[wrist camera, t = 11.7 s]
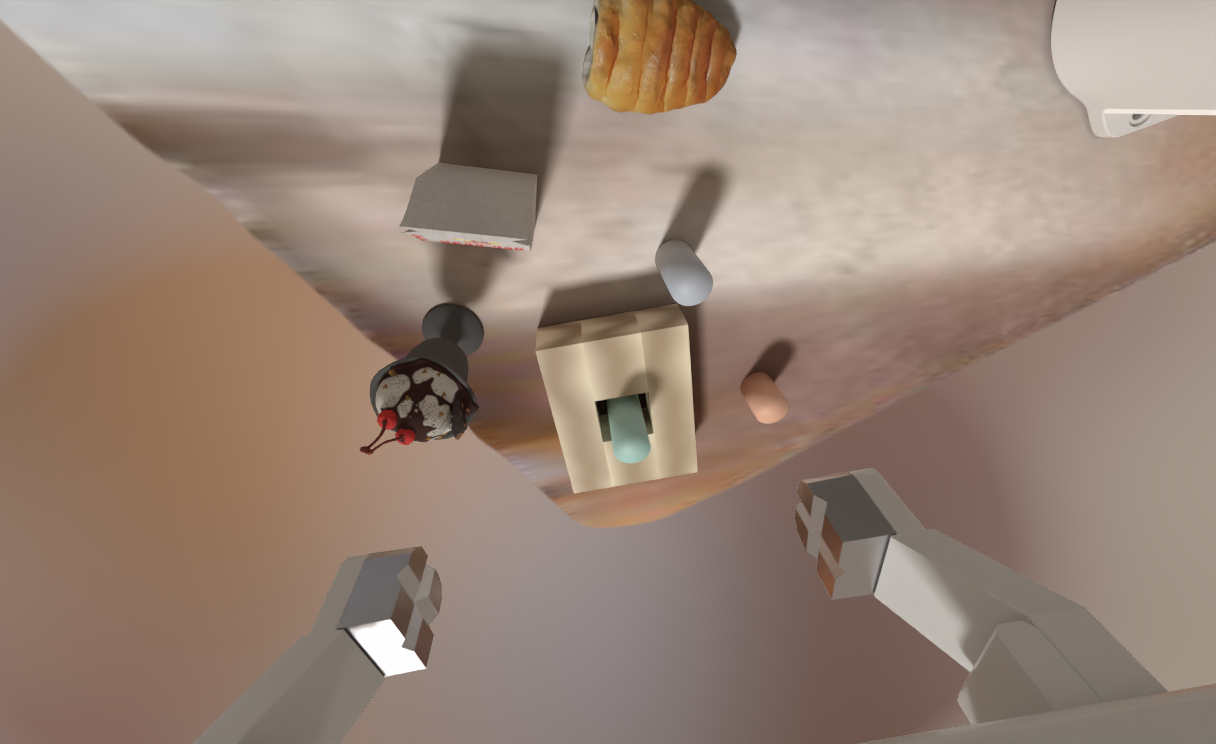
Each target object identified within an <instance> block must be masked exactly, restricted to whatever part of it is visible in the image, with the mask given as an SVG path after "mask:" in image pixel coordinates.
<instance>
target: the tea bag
mask: <svg viewBox="0 0 1216 744" xmlns="http://www.w3.org/2000/svg"><path fill="white" fill-rule="evenodd" d="M536 196H537V174H529V173H521V172H513V171H505V170H497V169H489V168H480V167H472V166H464V165H456V164H448V163H440V162H439V163H437V164H436V165H434V166H433V167H431V168H430V169H429V170H427V171H426V172H424V173H423V174H421V175H420V176H418V177H417V178H416V181H415V185H414V188H413V191H412V194H411V198H410V201H409V204H408V207H407V210H406V213H405V215H404V218H403V220H402V222H401V224H400V227H404V228H407V229H409V230H407V231H405V232H402V233H406V234H412V235H414V236H415V237H417V238H419V239H420V240H423V241H433V242H443V243H453V244H463V245H473V246H483V247H493V248H503V249H513V250H523V251H531V247H532V241H533V235H534V230H535V216H536Z"/></svg>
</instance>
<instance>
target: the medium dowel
mask: <svg viewBox="0 0 1216 744" xmlns="http://www.w3.org/2000/svg"><path fill="white" fill-rule="evenodd" d="M655 263H656V266H657V268H658V270H659V272H660V274H661V276H662V278H663V280H664V282H665V284H666V286H667V288H668V290H669V292H670V293H671V295H672V297H673V299H674V300H675V301H676V302H677V303H679V304H681V305H684V306H693V305H697V304H699V303H701V302H703V301H704V300H705V299H706V298H707V297H708V296H709V294H710V292H711V290H712V286H713V279H712V276H711V274H710V272H709V271H708V270H707V268H706V267H705V266H704V265H703V263H702V262H701V261H700V259H699V258H698V257H697V255H696V254H695V253H694V252H693V250H692V249H691V248H690V246H689V245H688V244H687V243H686V242H684V241H682V240H679V239H672V240H669V241H667V242H665V243H663V244H662V245H661V246H660V247H659V249H658V250H657V253H656V256H655Z"/></svg>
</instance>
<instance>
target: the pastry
mask: <svg viewBox="0 0 1216 744" xmlns="http://www.w3.org/2000/svg"><path fill="white" fill-rule="evenodd" d="M735 58H736V48H735V45H734V44H733V41H732V39H731V36H730V33H729V31H728V29H727V28H726V27H725V26H724V25H722V24H721V23H719V22H718V21H717V20H715V18H714V17H713V15H712V14H711V13H710V12H709V11H706V10H705V9H704V8H703V7H702V6H700V5H697V4H695V3H694V2H692V1H690V0H594V7H593V10H592V14H591V22H590V49H589V51H588V53H587V54H586V57H585V60H584V63H583V74H582V77H583V83H584V87H585V89H586V91H587V93H588V95H589V96H590V97H591V98H592V99H594V100H597V101H600V102H602V103H603V104H605V105H606V106H608V107H609V108H611V109H612V110H614V111H618V112H630V111H631V112H635V113H636V112H641V113H645V114H654V113H657V112H667V111H670V110H673V109H680V108H683V107H687V106H690V105H695V104H698V103H705V102H707V101H709V100H710V99H711V98H712V97H713V96H715V95H716V94H717V93H718V92H719V91H720V90H721V88H722V87H723V86H724V84H725V83H726V81H727V78H728V75H729V73H730V69H731V67H732V65H733V63H734V61H735Z"/></svg>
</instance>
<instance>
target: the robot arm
mask: <svg viewBox="0 0 1216 744" xmlns="http://www.w3.org/2000/svg"><path fill="white" fill-rule="evenodd" d="M1051 49H1052V58H1053V62H1054V66H1055V70H1056V72H1057V75H1058V77H1059V79H1060V81H1061V82H1062V84H1063V85H1064V87H1065V88H1066V89H1067V90H1068V91H1069V92H1070V93H1071V94H1072V95H1074V96H1075V97H1076V98H1077V99H1079V100H1080V101H1081V102H1082V103H1083V104H1084V105H1085V107H1086V108H1087V112H1088V117H1089V121H1090V125H1091V128H1092V130H1093V133H1094V134H1095V135H1096V136H1097V137H1101V138H1113V137H1119V136H1123V135H1125V134H1128V133H1131V132H1134V131H1136V130H1139V129H1142V128H1145V127H1147V126H1150V125H1153V124H1156V123H1158V122H1161V121H1164V120H1167V119H1169V118H1172V117H1175V116H1177V115H1216V0H1057V2H1056V6H1055V11H1054V16H1053V22H1052V32H1051ZM797 494H798V496H799V498H800V499H801V502H800V503H799V504H798V505H797V506H796V507H795V522H796V527H797V532H798V534H799V537H800V540H801V542H802V544H803V546H804V548H805V550H806V551H807V552H808V553H810V554H811V555H813V556H814V557H816V558H817V559H818V560H817V567H816V571H817V573H818V575H819V577H820V578H821V580H822V582H823V584H824V586H825V588H826V590H827V592H828V593H829V595H830V597H831V599H832V600H833V599H840V598H847V597H855V596H862V595H868V594H874V596H875V597H876V598H877V599H878V600H880V601H881V602H882V603H883V604H885V605H886V606H887V607H889V608H890V609H891V610H892V611H894V612H895V613H896V614H897V615H899V616H900V617H901V618H902V619H904V620H905V621H906V622H908V623H909V624H910V625H911V626H913V627H914V628H915V629H916V630H918V631H919V632H920V633H922V634H923V635H924V636H925V637H927V638H928V639H929V640H930V641H932V642H933V643H934V644H936V645H937V646H938V647H939V648H941V649H942V650H943V651H944V652H946V653H947V654H948V655H950V656H951V657H952V658H953V659H955V660H956V661H957V662H958V663H960V664H961V665H962V666H963V667H965V668H966V669H967V670H968V671H970V672H971V673H970V675H969V677H968V678H967V680H966V682H965V684H964V686H963V688H962V689H961V691H960V693H959V696H958V700H957V701H958V703H959V705H960V706H961V708H962V709H963V711H964V713H965V714H966V716H967V717H968V719H969V721H970V722H971V724H972V725H966V726H960V727H954V728H949V729H942V730H937V731H931V732H925V733H918V734H912V735H907V736H900V737H894V738H889V739H882V740H876V741H870V742H864V743H859V744H1216V684H1212V685H1206V686H1199V687H1194V688H1187V689H1181V690H1175V691H1169V692H1168V691H1167V690H1166V689H1165V688H1164V687H1163V686H1162V685H1161V684H1160V683H1159V682H1158V681H1157V680H1156V679H1155V678H1154V677H1153V676H1152V675H1151V674H1150V673H1149V672H1148V671H1147V670H1146V669H1145V668H1144V667H1143V666H1142V665H1141V664H1140V663H1139V662H1138V661H1137V660H1136V659H1135V658H1134V657H1133V656H1132V655H1131V654H1130V653H1129V652H1128V651H1127V650H1126V649H1125V648H1124V647H1123V646H1122V645H1121V644H1120V643H1119V642H1118V641H1117V639H1116V638H1114V637H1113V635H1111V634H1110V633H1109V632H1108V631H1107V629H1105V628H1104V626H1103V625H1102V624H1101V623H1100V622H1099V621H1098V620H1096V618H1095V617H1094V616H1093V615H1092V614H1091V613H1090V612H1089V611H1088V610H1087V609H1086V608H1084V607H1082V606H1080V605H1079V604H1077V603H1075V602H1073V601H1071V600H1069V599H1067V598H1065V597H1063V596H1061V595H1059V594H1057V593H1056V592H1054V591H1052V590H1050V589H1048V588H1046V587H1044V586H1042V585H1040V584H1038V583H1037V582H1035V581H1033V580H1031V579H1028V578H1027V577H1025V576H1023V575H1021V574H1019V573H1017V572H1015V571H1013V570H1012V569H1010V568H1008V567H1006V566H1004V565H1002V564H1000V563H998V562H996V561H994V560H992V559H990V558H989V557H987V556H985V555H983V554H981V553H979V552H977V551H975V550H973V549H971V548H969V547H967V546H966V545H963V544H962V543H960V542H958V541H956V540H954V539H952V538H950V537H948V536H946V535H944V534H943V533H941V532H939V531H937V530H935V529H929V530H926V529H925V528H924V527H923V526H922V525H921V523H920V522H919V521H918V520H917V518H916V517H915V516H914V515H913V514H912V512H911V511H910V510H909V509H908V508H907V507H906V505H905V504H904V503H903V501H902V500H901V499H900V498H899V497H898V496H897V494H896V493H895V492H894V491H893V489H892V488H891V487H890V486H889V485H888V483H887V482H886V481H885V480H884V479H883V477H882V476H881V475H880V474H879V472H878V471H876V470H875V469H873V468H869V469H863V470H857V471H851V472H847V473H846V472H844V473H838V474H832V475H827V476H821V477H817V478H811V479H805V480H801V481H800V482H799V484H798V488H797ZM427 557H428V555H427V554H426V552H425V551H424V549H423V548H422V547H412V548H406V549H399V550H391V551H385V552H378V553H371V554H366V555H359V556H352V557H348V558H347V559H346V560H345V561H344V562H343V563H342V564H341V566H340V568H339V570H338V573H337V575H336V577H335V579H334V581H333V583H332V585H331V588H330V590H329V592H328V594H327V596H326V599H325V601H324V603H323V605H322V607H321V609H320V612H319V614H318V616H317V618H316V620H315V623H314V625H313V627H312V629H311V631H310V633H309V635H305V636H302V637H300V638H299V639H298V640H297V641H296V642H295V643H294V644H293V645H292V646H291V647H290V648H289V649H288V650H287V651H286V652H285V653H284V654H283V655H282V656H281V657H280V658H279V659H278V660H277V661H276V662H275V663H274V664H273V665H272V666H271V667H270V668H269V669H268V670H267V671H266V672H265V673H264V674H263V675H261V676H260V677H259V678H258V679H257V680H256V681H255V683H253V684H252V685H251V686H250V687H249V688H248V689H247V690H246V691H245V692H244V693H243V694H242V695H241V696H240V697H239V698H238V699H237V700H236V701H235V702H234V703H233V704H232V705H231V706H230V707H229V708H228V709H227V710H226V711H225V712H224V713H223V714H222V715H221V716H220V717H219V718H218V719H217V720H216V721H215V722H213V724H211V725H210V727H208V728H207V729H206V730H205V731H204V732H203V733H202V734H201V735H200V736H199V737H198V738H197V739H196V740H195V741H194V742H193V743H192V744H341V742H342V741H343V739H344V738H345V736H346V735H347V733H348V732H349V731H350V729H351V728H352V726H353V725H354V723H355V722H356V721H357V719H358V718H359V716H360V715H361V713H362V712H363V711H364V709H365V708H366V706H367V705H368V703H369V702H370V701H371V699H372V698H373V696H374V695H375V693H376V692H377V690H378V689H379V687H380V686H381V685H382V683H383V682H384V680H385V678H384V677H385V676H391V675H395V674H400V673H405V672H410V671H416V670H420V669H426V667H427V663H428V659H429V654H430V650H431V645H432V641H433V637H434V634H433V632H432V630H431V629H430V626H429V625H430V624H431V623H432V621H433V620H434V619H435V618H436V616H437V615H438V614H439V610H440V606H441V601H442V585H441V582H440V577H439V575H438V573H437V571H436V569H434V568H432V567H430V566H429V565H426V561H427Z"/></svg>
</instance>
